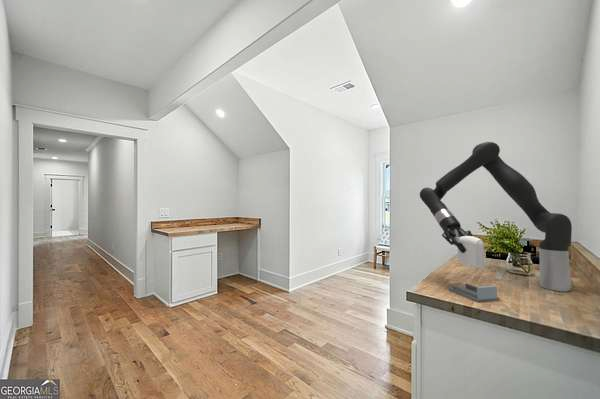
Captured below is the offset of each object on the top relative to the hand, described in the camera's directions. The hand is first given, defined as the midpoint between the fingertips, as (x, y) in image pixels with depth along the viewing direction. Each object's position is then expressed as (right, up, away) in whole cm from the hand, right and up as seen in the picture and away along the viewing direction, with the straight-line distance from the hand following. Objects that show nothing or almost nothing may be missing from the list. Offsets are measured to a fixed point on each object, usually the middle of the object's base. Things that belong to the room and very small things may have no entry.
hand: (469, 251), depth 106 cm
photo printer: (0, -6, -1) cm, 6 cm away
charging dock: (0, -18, -2) cm, 18 cm away
